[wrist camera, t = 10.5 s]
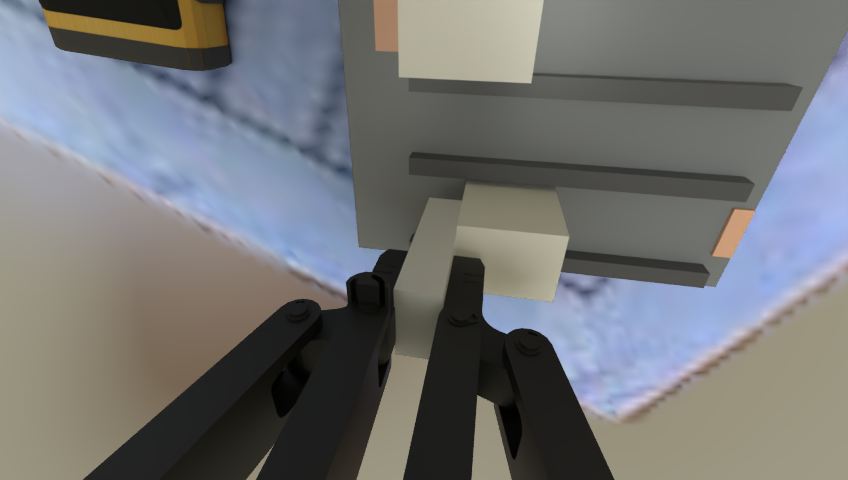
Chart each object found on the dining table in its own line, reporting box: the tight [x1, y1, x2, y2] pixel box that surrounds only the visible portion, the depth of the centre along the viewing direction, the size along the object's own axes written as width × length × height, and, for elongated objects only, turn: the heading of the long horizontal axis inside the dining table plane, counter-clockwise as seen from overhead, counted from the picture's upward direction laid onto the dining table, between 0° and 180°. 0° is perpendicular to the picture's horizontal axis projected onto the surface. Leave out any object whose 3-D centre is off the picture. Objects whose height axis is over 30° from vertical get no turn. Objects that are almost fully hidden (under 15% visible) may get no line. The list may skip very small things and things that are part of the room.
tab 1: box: [398, 0, 544, 83], centre depth 13 cm, size 3×4×4 cm
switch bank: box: [338, 0, 848, 288], centre depth 15 cm, size 22×18×3 cm
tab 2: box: [455, 180, 569, 302], centre depth 17 cm, size 3×4×4 cm
